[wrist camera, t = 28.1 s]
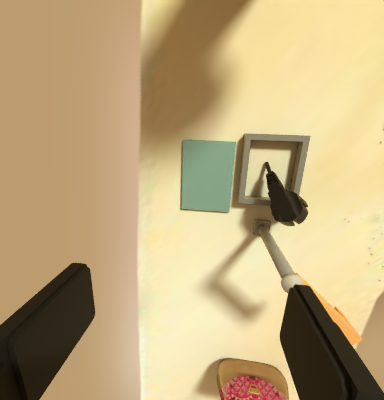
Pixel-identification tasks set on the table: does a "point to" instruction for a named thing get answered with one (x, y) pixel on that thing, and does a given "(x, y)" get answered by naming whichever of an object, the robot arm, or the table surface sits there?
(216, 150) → the mat
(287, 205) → the power plug
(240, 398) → the shoulder bag
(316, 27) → the table surface
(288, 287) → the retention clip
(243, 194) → the plug dock
